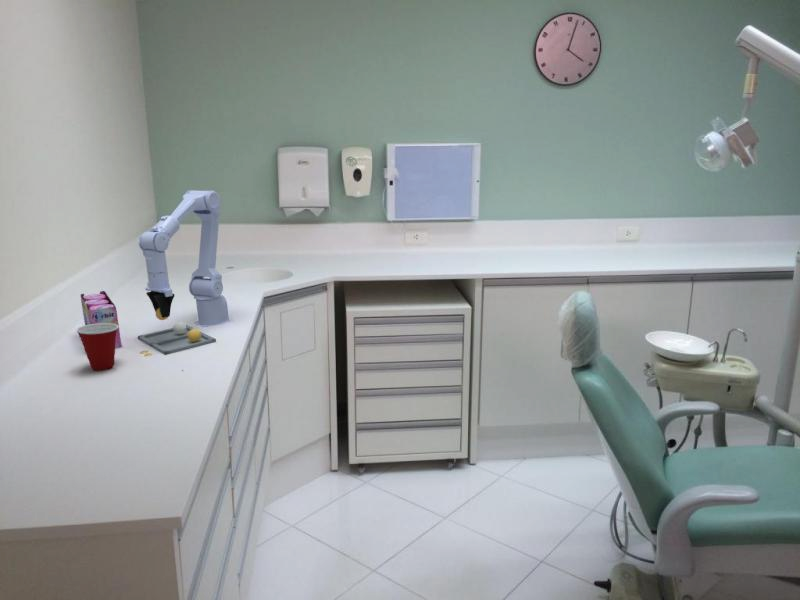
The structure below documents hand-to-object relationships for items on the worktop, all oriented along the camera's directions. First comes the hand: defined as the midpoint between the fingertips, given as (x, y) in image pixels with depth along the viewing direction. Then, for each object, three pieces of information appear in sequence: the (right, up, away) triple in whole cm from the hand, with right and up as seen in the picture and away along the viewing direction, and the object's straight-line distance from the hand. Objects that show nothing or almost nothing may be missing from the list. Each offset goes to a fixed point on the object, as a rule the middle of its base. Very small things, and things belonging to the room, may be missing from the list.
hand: (162, 315), depth 208 cm
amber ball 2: (+9, -8, +1) cm, 12 cm away
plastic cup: (-11, -14, -16) cm, 24 cm away
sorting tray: (+3, -8, +3) cm, 10 cm away
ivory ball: (+2, -6, +9) cm, 11 cm away
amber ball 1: (0, -1, 0) cm, 1 cm away
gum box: (-21, -9, +7) cm, 23 cm away
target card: (-2, -11, -7) cm, 14 cm away
